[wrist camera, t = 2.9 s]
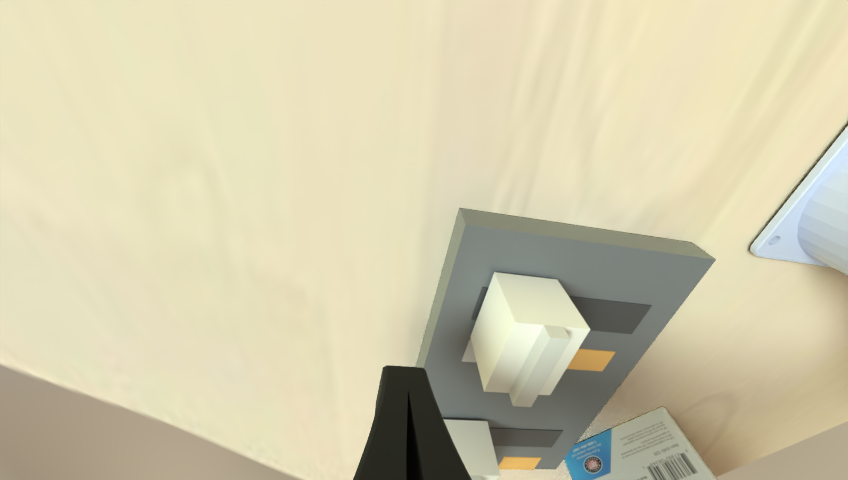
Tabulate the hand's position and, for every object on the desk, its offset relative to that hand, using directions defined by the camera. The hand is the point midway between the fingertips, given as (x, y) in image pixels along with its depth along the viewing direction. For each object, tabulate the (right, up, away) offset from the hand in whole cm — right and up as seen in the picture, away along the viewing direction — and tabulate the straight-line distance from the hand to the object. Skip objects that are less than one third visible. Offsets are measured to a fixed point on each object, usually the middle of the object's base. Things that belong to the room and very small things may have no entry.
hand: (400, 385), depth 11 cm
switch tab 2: (+5, +2, +5) cm, 7 cm away
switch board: (+6, -3, +9) cm, 11 cm away
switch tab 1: (+3, -8, +10) cm, 13 cm away
